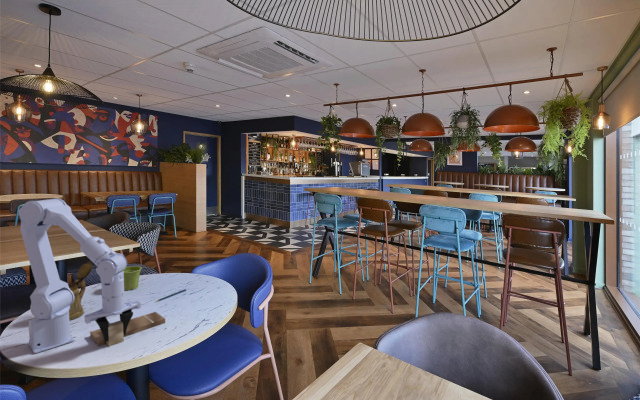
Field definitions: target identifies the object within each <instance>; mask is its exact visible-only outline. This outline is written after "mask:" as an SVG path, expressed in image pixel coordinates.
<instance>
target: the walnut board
mask: <svg viewBox="0 0 640 400" xmlns="http://www.w3.org/2000/svg"><path fill="white" fill-rule="evenodd" d="M165 323H166V318H165V317H163V316H162V315H161V314H159V313H158V312H157V311H153V312H150V313H148V314H143V315H140V316H137V317H134V318H131V320H130V322H129V324H128V327H127V330H126V335H124V338H126V337H128V336H131V335H133V334H137V333H140V332H143V331H145V330H148V329H151V328H154V327H157V326H161V325H163V324H165ZM89 333H90V338H91V340H93V341H94V343H95V344H96V345H97V346H102V345H105V344H106V341H105V340H104V337H103V334H102V331H101V329H100V328H99V329H95V330H93V331H90V332H89Z"/></svg>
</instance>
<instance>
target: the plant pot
mask: <svg viewBox="0 0 640 400" xmlns="http://www.w3.org/2000/svg"><path fill="white" fill-rule="evenodd" d="M142 269H143V268H142V266H140V265H139V266H138V265H136V266H135V265H133V266H127V267H126V268H125V269H124V270H123V271H124V291H130V290H135V289H137V288H139V281H140V276H141V275H140V273H141V270H142ZM121 272H122V271H121Z"/></svg>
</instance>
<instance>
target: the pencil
mask: <svg viewBox="0 0 640 400" xmlns="http://www.w3.org/2000/svg"><path fill="white" fill-rule="evenodd" d="M186 291H187V289H185V288H184V289H182V290H179V291H177V292H173V293H171V294H169V295H166V296H164V297H162V298H159V299H157V300H156V301H155V303H157V302H160V301H164V300H166V299H169V298H171V297H173V296H176V295H179V294H182V293H184V292H186Z"/></svg>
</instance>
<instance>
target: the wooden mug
mask: <svg viewBox="0 0 640 400" xmlns="http://www.w3.org/2000/svg"><path fill="white" fill-rule="evenodd" d="M92 271H93V262H92V261H91V260H89V261H87V262H85V263H84V264H83V265H81V266H80V267H79V268H78V270H77V272H76V280H75V281H73V283H68V286H69V288H70V290H71V291H72V292H73V294H74V297H75V298H74V302H73V303H72V304H71V305H70V309H69V321H72V320H75V319H78V318H80V317H81V316H83V315H84V313H85V310H84V307H83V306H82V299H83V296H84V294H85V292H86V287H87V284H86V281H85V280H84V279H86V278H87V277H88V276H89V275H90V274H91V273H92ZM78 287H79V288H80V289H79V288H78Z"/></svg>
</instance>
